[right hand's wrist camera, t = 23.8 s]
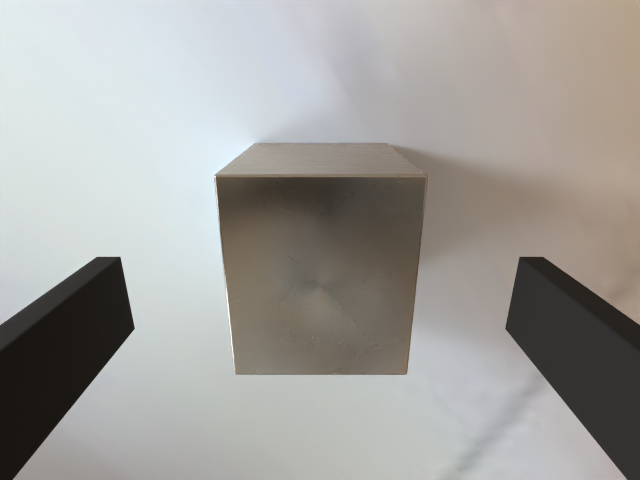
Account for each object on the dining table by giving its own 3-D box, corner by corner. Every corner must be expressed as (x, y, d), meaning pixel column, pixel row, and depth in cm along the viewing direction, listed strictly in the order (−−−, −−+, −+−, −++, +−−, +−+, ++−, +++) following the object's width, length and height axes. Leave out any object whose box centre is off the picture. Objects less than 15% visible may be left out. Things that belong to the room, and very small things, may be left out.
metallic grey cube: (387, 143, 18) (428, 174, 11) (378, 281, 20) (407, 375, 14) (253, 143, 18) (213, 174, 11) (262, 281, 21) (233, 375, 14)
